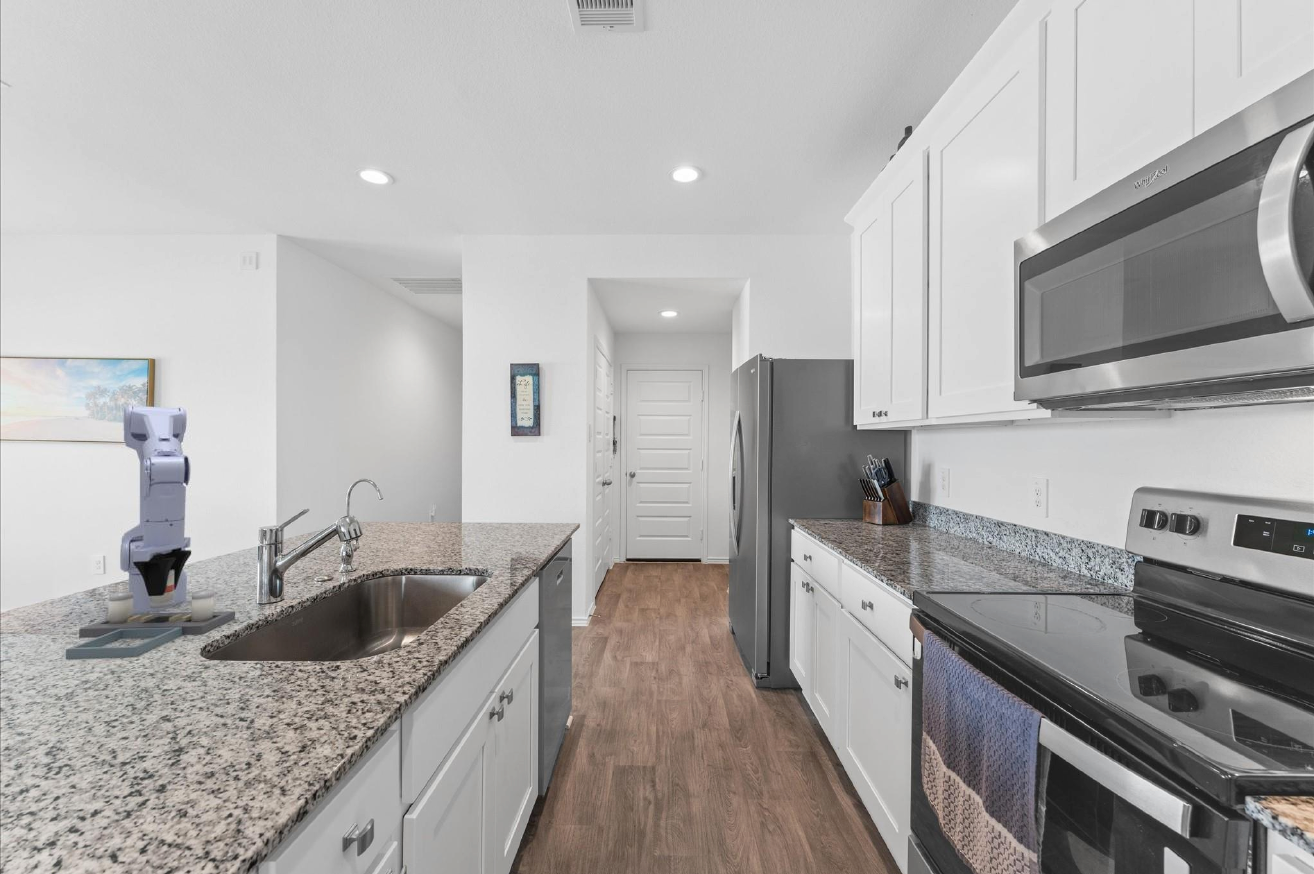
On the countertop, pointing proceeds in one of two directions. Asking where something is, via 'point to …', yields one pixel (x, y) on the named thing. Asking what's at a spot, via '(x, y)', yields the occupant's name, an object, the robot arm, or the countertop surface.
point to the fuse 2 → (202, 606)
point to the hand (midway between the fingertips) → (162, 592)
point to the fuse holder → (160, 623)
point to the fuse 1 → (120, 607)
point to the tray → (96, 651)
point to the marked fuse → (165, 594)
